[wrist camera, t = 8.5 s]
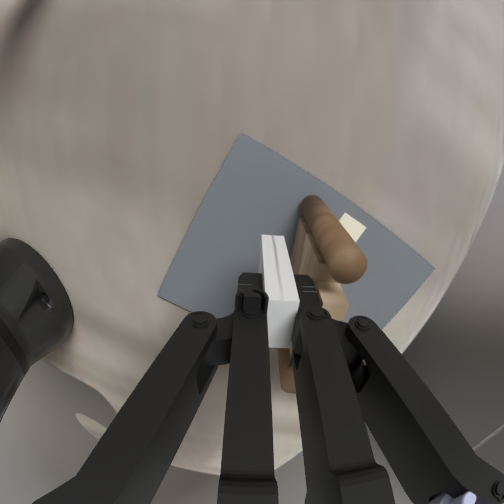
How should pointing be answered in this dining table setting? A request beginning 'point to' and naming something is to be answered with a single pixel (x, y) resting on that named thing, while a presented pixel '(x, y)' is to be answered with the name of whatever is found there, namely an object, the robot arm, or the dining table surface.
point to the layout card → (281, 224)
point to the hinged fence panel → (326, 255)
